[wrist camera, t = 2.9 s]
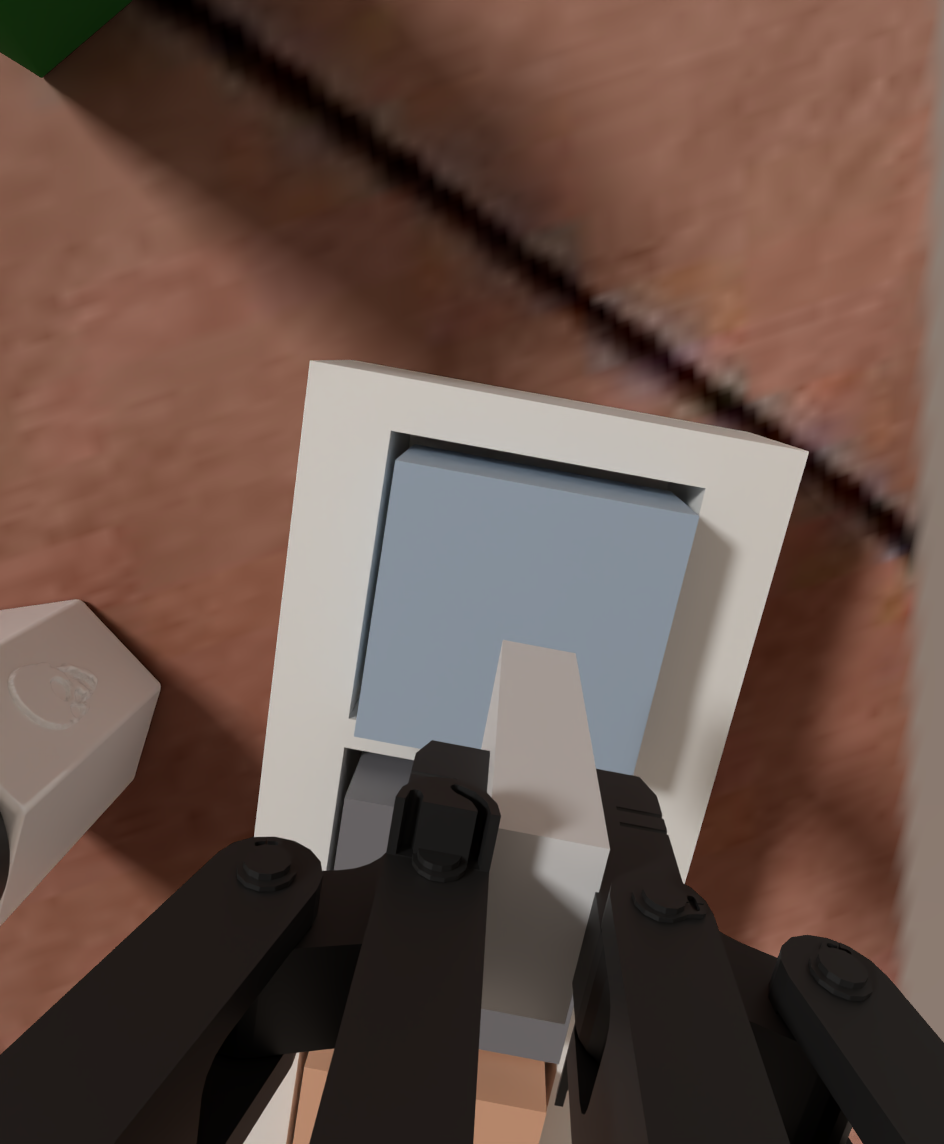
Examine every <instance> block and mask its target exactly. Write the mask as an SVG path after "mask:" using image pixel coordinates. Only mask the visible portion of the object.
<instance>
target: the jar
mask: <svg viewBox="0 0 944 1144" xmlns="http://www.w3.org/2000/svg"><path fill="white" fill-rule="evenodd" d="M160 690H161V685H160V683H159V681H158V680H157V679H156V678H155V677H154V676H153V675H152V674H151V673H150V672H149V671H148V670H147V669H146V668H145V667H144V666H143V665H142V664H141V663H140V662H139V661H138V659H137V658H136V657H135V656H134V655H133V654H132V653H131V652H130V651H129V650H128V649H127V648H126V647H125V646H124V645H123V644H122V643H121V641H120V640H119V639H118V638H117V637H116V636H115V635H114V634H113V633H112V632H111V631H110V630H109V629H108V628H107V627H106V626H105V625H104V623H103V622H102V621H101V620H100V619H99V618H98V617H97V616H96V615H95V614H94V613H93V612H92V611H91V610H90V608H89V607H88V606H87V605H86V604H85V603H84V602H83V601H81V600H78V599H74V600H67V601H61V602H54V603H47V604H40V605H33V606H26V607H19V608H12V609H5V610H0V926H1V925H2V924H3V923H4V922H5V921H6V920H7V918H8V917H9V916H10V915H11V914H12V913H13V912H14V911H15V910H16V909H17V907H18V906H19V905H20V904H21V903H22V902H23V901H24V900H25V899H26V898H27V896H28V895H29V894H30V893H31V892H32V891H33V890H34V889H35V888H36V886H37V885H38V884H39V883H40V882H41V881H42V880H43V879H44V878H45V877H46V875H47V874H48V873H49V872H50V871H51V870H52V869H53V868H54V867H55V866H56V864H57V863H58V862H59V861H60V860H61V859H62V858H63V857H64V856H65V855H66V853H67V852H68V851H69V850H70V849H71V848H72V847H73V846H74V845H75V844H76V842H77V841H78V840H79V839H80V838H81V837H82V836H83V835H84V834H85V833H86V831H87V830H88V829H89V828H90V827H91V826H92V825H93V824H94V823H95V822H96V820H97V819H98V818H99V817H100V816H101V815H102V814H103V813H104V812H105V811H106V809H107V808H108V807H109V806H110V805H111V804H112V803H113V802H114V801H115V800H116V798H117V797H118V796H119V795H120V794H121V793H122V792H123V791H124V790H125V789H126V787H127V786H128V785H129V784H130V783H131V782H132V781H133V779H134V777H135V774H136V771H137V767H138V764H139V760H140V757H141V754H142V750H143V747H144V744H145V740H146V737H147V734H148V730H149V727H150V723H151V720H152V717H153V713H154V710H155V707H156V703H157V700H158V697H159V693H160Z"/></svg>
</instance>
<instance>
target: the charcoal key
mask: <svg viewBox="0 0 944 1144" xmlns="http://www.w3.org/2000/svg"><path fill="white" fill-rule="evenodd" d="M413 762H414V760H410V759H405V758H399V757H394V756H388V755H383V754H378V753H372V752H367V751H363V752H362V755H361V757H360V760H359V762H358V765H357V767H356V770H355V773H354V775H353V778H352V780H351V783H350V785H349V788H348V790H347V793H346V796H345V799H344V805H343V812H342V819H341V825H340V832H339V839H338V845H337V852H336V859H335V865H334V870H344V869H353V868H358V867H361V866H364V865H367V864H370V863H372V862H374V861H375V860H377V859H379V858H381V857H382V856H383V855H384V854H385V853H386V851H387V845H388V839H389V833H390V827H391V821H392V815H393V809H394V803H395V797H396V795H397V794H398V792H399V791H400V789H401V788H402V786H404V785H406V784H408V781H409V778H410V774H411V770H412V766H413ZM573 1008H574V1001H573V994H572V998H571V1002H570V1006H569V1010H568V1014H567V1018H566V1021H565V1025H564V1024H559V1023H554V1022H549V1021H544V1020H538V1019H533V1018H528V1017H523V1016H517V1015H512V1014H507V1013H502V1012H497V1011H491V1010H486V1009H481V1021H480V1039H479V1049H480V1050H486V1051H491V1052H496V1053H502V1054H507V1055H512V1056H518V1057H523V1058H528V1059H534V1060H539V1061H544V1062H549V1063H555V1064H559V1062H560V1059H561V1055H562V1051H563V1047H564V1043H565V1039H566V1035H567V1031H568V1027H569V1023H570V1020H571V1016H572V1012H573Z"/></svg>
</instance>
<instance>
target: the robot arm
mask: <svg viewBox="0 0 944 1144" xmlns="http://www.w3.org/2000/svg"><path fill="white" fill-rule="evenodd" d="M572 994H573V1001H574V1014H575V1024H574V1028H573V1031H572V1035H571V1039H570V1043H569V1047H568V1050H567V1054H566V1058H565V1062H564V1066H563V1069H562V1073H561V1077H560V1081H559V1085H558V1088H557V1093H556V1099H555V1104H554V1105H556V1106H561V1107H563V1105H564V1101H565V1098H566V1094H567V1091H568V1090H569V1107H570V1124H571V1141H572V1144H852V1142H851V1141H850V1139H849V1138H848V1136H849V1134H850V1131H851V1129H852V1127H853V1129H854V1130H855V1132H856V1133H857V1135H858V1136H859V1138H860V1139H861V1141H862V1143H863V1144H944V1043H943V1041H942V1040H941V1039H940V1038H939V1037H938V1035H937V1034H936V1033H935V1032H934V1031H933V1030H932V1028H931V1027H930V1026H929V1025H928V1024H927V1023H926V1021H925V1020H924V1019H923V1018H922V1017H921V1015H920V1014H919V1013H918V1012H917V1011H916V1009H915V1008H914V1007H913V1006H912V1005H911V1004H910V1002H909V1001H908V1000H907V999H906V998H905V996H904V995H903V994H902V993H901V992H900V991H899V989H898V988H897V987H896V986H895V985H894V984H893V982H892V981H891V980H890V979H889V978H888V976H887V975H885V974H884V973H883V972H882V971H881V970H880V969H879V968H878V967H877V966H876V965H875V964H874V963H873V962H872V961H871V960H869V959H867V958H866V957H864V956H863V955H861V954H860V953H858V952H856V951H855V950H853V949H852V948H850V947H848V946H846V945H844V944H842V943H838V942H837V941H833V940H830V939H828V938H823V937H817V936H811V935H803V936H797V937H791V938H790V939H789V940H788V941H787V942H786V943H785V944H784V945H782V947H781V950H780V953H779V956H778V958H776V957H774V956H771V955H769V954H766V953H764V952H762V951H759V950H757V949H754V948H752V947H749V946H747V945H745V944H742V943H740V942H738V941H736V940H734V939H732V938H730V937H728V936H726V935H725V934H723V933H722V932H720V931H719V929H718V926H717V923H716V920H715V917H714V914H713V913H712V911H711V909H710V908H709V906H708V904H707V903H706V901H705V900H704V899H703V898H702V897H701V896H700V895H699V894H697V893H696V892H695V891H694V890H693V889H692V888H691V887H689V886H687V885H685V884H684V883H683V882H682V878H681V875H680V872H679V868H678V865H677V862H676V858H675V855H674V852H673V848H672V845H671V842H670V838H669V835H667V828H666V825H665V822H664V819H662V812H661V808H660V805H659V802H658V798H657V796H656V794H655V793H654V792H653V791H652V790H651V789H650V788H649V787H648V786H647V785H646V783H645V782H644V781H643V780H642V779H641V778H640V777H638V776H633V775H627V774H622V773H617V772H611V771H606V770H601V769H596V766H595V761H594V755H593V749H592V743H591V738H590V732H589V726H588V721H587V715H586V709H585V703H584V698H583V692H582V686H581V681H580V675H579V669H578V664H577V658H576V653H571V652H566V651H560V650H555V649H550V648H544V647H539V646H534V645H528V644H523V643H518V642H512V641H507V640H503V641H502V646H501V651H500V656H499V661H498V666H497V671H496V676H495V681H494V686H493V691H492V696H491V701H490V706H489V711H488V716H487V721H486V727H485V732H484V737H483V742H482V747H481V749H477V748H471V747H466V746H461V745H455V744H450V743H445V742H439V741H434V740H432V741H430V742H429V743H428V744H427V745H425V746H424V747H423V748H421V749H420V750H419V751H418V752H416V755H415V759H414V762H413V766H412V770H411V774H410V778H409V781H408V784H406V785H404V786H402V788H401V789H400V791H399V792H398V794H397V795H396V797H395V803H394V809H393V815H392V821H391V827H390V833H389V839H388V845H387V851H386V853H385V854H384V855H383V856H382V857H381V858H379V859H377V860H375V861H374V862H372V863H370V864H367V865H364V866H361V867H358V868H353V869H344V870H329V871H322V867H321V861H320V860H319V859H318V858H317V857H316V855H315V854H314V853H313V852H312V851H311V849H309V848H307V847H305V846H303V845H301V844H299V843H298V842H296V841H293V840H288V839H284V838H279V837H252V838H248V839H245V840H241V841H237V842H234V843H232V844H230V845H229V846H227V847H226V848H224V849H223V850H221V851H219V852H218V853H217V854H216V855H215V856H214V857H212V858H211V859H210V860H209V861H208V862H207V863H206V864H205V865H204V866H203V867H202V868H201V869H200V870H199V871H197V872H196V873H195V874H194V875H193V876H192V877H191V878H190V879H189V880H188V881H187V882H186V883H185V884H183V885H182V886H181V887H180V888H179V889H178V890H177V891H176V892H175V893H174V894H173V895H172V896H171V897H170V898H168V899H167V900H166V901H165V902H164V903H163V904H162V905H161V906H160V907H159V908H158V909H157V910H156V911H154V912H153V913H152V914H151V915H150V916H149V917H148V918H147V919H146V920H145V921H144V922H143V923H142V924H141V925H139V926H138V927H137V928H136V929H135V930H134V931H133V932H132V933H131V934H130V935H129V936H128V937H127V938H125V939H124V940H123V941H122V942H121V943H120V944H119V945H118V946H117V947H116V948H115V949H114V950H113V951H112V952H110V953H109V954H108V955H107V956H106V957H105V958H104V959H103V960H102V961H101V962H100V963H99V964H98V965H96V966H95V967H94V968H93V969H92V970H91V971H90V972H89V973H88V974H87V975H86V976H85V977H84V978H82V979H81V980H80V981H79V982H78V983H77V984H76V985H75V986H74V987H73V988H72V989H71V990H70V991H69V992H67V993H66V994H65V995H64V996H63V997H62V998H61V999H60V1000H59V1001H58V1002H57V1003H56V1004H55V1005H53V1006H52V1007H51V1008H50V1009H49V1010H48V1011H47V1012H46V1013H45V1014H44V1015H43V1016H42V1017H41V1018H40V1019H38V1020H37V1021H36V1022H35V1023H34V1024H33V1025H32V1026H31V1027H30V1028H29V1029H28V1030H27V1031H26V1032H24V1033H23V1034H22V1035H21V1036H20V1037H19V1038H18V1039H17V1040H16V1041H15V1042H14V1043H13V1044H12V1045H11V1046H9V1047H8V1048H7V1049H6V1050H5V1051H4V1052H3V1053H2V1054H1V1055H0V1144H243V1143H244V1142H245V1140H246V1138H247V1137H248V1135H249V1134H250V1132H251V1130H252V1129H253V1127H254V1126H255V1124H256V1122H257V1121H258V1119H259V1118H260V1116H261V1114H262V1113H263V1111H264V1110H265V1108H266V1107H267V1105H268V1103H269V1102H270V1100H271V1099H272V1097H273V1095H274V1094H275V1092H276V1091H277V1089H278V1087H279V1086H280V1084H281V1083H282V1081H283V1080H284V1078H285V1076H286V1075H287V1073H288V1072H289V1070H290V1068H291V1067H292V1064H293V1062H294V1059H295V1056H296V1053H299V1052H308V1051H317V1050H326V1049H334V1052H333V1056H332V1059H331V1063H330V1067H329V1071H328V1074H327V1078H326V1082H325V1086H324V1090H323V1093H322V1097H321V1101H320V1105H319V1108H318V1112H317V1116H316V1120H315V1124H314V1127H313V1131H312V1135H311V1139H310V1142H309V1144H473V1141H474V1124H475V1107H476V1090H477V1073H478V1056H479V1039H480V1021H481V1009H486V1010H491V1011H497V1012H502V1013H507V1014H512V1015H517V1016H523V1017H528V1018H533V1019H538V1020H544V1021H549V1022H554V1023H559V1024H564V1025H565V1021H566V1018H567V1014H568V1010H569V1006H570V1002H571V998H572Z"/></svg>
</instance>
